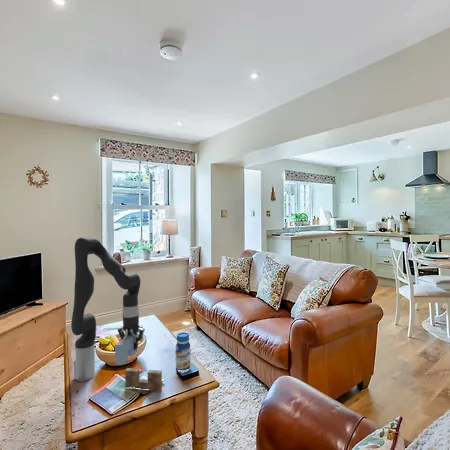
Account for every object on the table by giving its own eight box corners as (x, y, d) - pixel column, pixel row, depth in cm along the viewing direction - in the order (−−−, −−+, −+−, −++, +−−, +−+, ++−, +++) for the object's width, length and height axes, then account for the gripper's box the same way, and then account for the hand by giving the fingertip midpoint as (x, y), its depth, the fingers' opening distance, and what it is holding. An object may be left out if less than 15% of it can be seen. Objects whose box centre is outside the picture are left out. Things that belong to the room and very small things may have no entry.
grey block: (115, 364, 131) (114, 344, 131) (130, 351, 145) (130, 333, 145) (122, 365, 131) (121, 345, 131) (137, 351, 144) (136, 333, 144)
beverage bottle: (190, 365, 164) (190, 331, 164) (191, 373, 156) (190, 336, 156) (175, 367, 163) (175, 332, 163) (175, 374, 155) (174, 337, 155)
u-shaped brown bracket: (125, 388, 142) (125, 370, 142) (127, 385, 145) (127, 368, 145) (159, 391, 139) (159, 373, 139) (161, 388, 142) (161, 370, 142)
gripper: (113, 316, 140) (114, 351, 140) (140, 317, 137) (141, 353, 137) (121, 311, 147) (122, 345, 147) (147, 312, 145) (148, 346, 145)
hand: (131, 348), depth 142 cm, fingers closed on grey block, 3 cm apart
